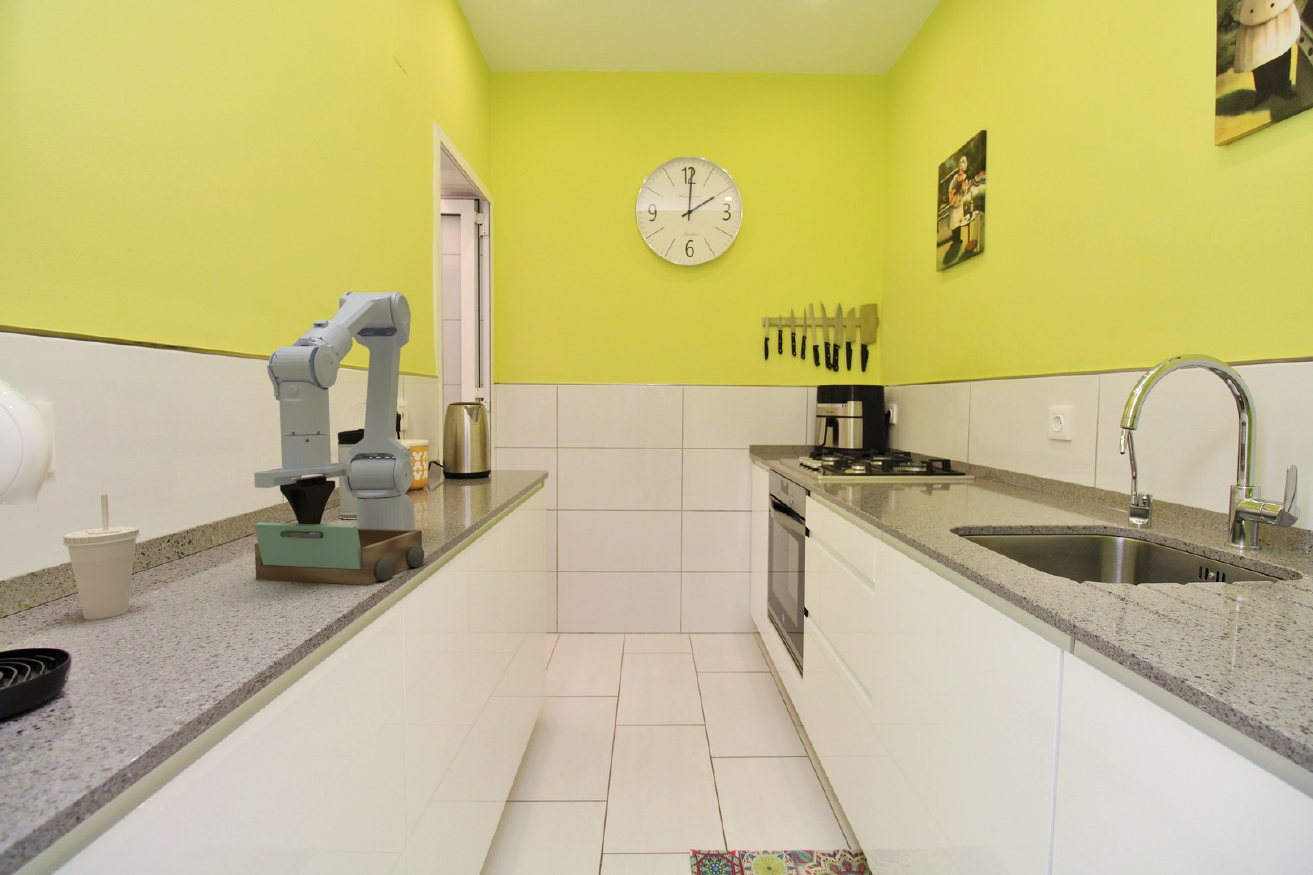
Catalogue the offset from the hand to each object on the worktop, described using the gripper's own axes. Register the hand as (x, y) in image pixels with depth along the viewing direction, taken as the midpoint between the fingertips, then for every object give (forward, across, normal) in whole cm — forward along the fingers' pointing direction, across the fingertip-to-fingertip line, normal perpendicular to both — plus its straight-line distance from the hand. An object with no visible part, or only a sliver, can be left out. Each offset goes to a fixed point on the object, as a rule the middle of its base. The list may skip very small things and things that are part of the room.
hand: (309, 534), depth 78 cm
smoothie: (+7, -15, +14) cm, 22 cm away
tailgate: (+5, 0, 0) cm, 5 cm away
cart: (+7, +6, 0) cm, 9 cm away
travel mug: (+7, +46, +30) cm, 55 cm away
